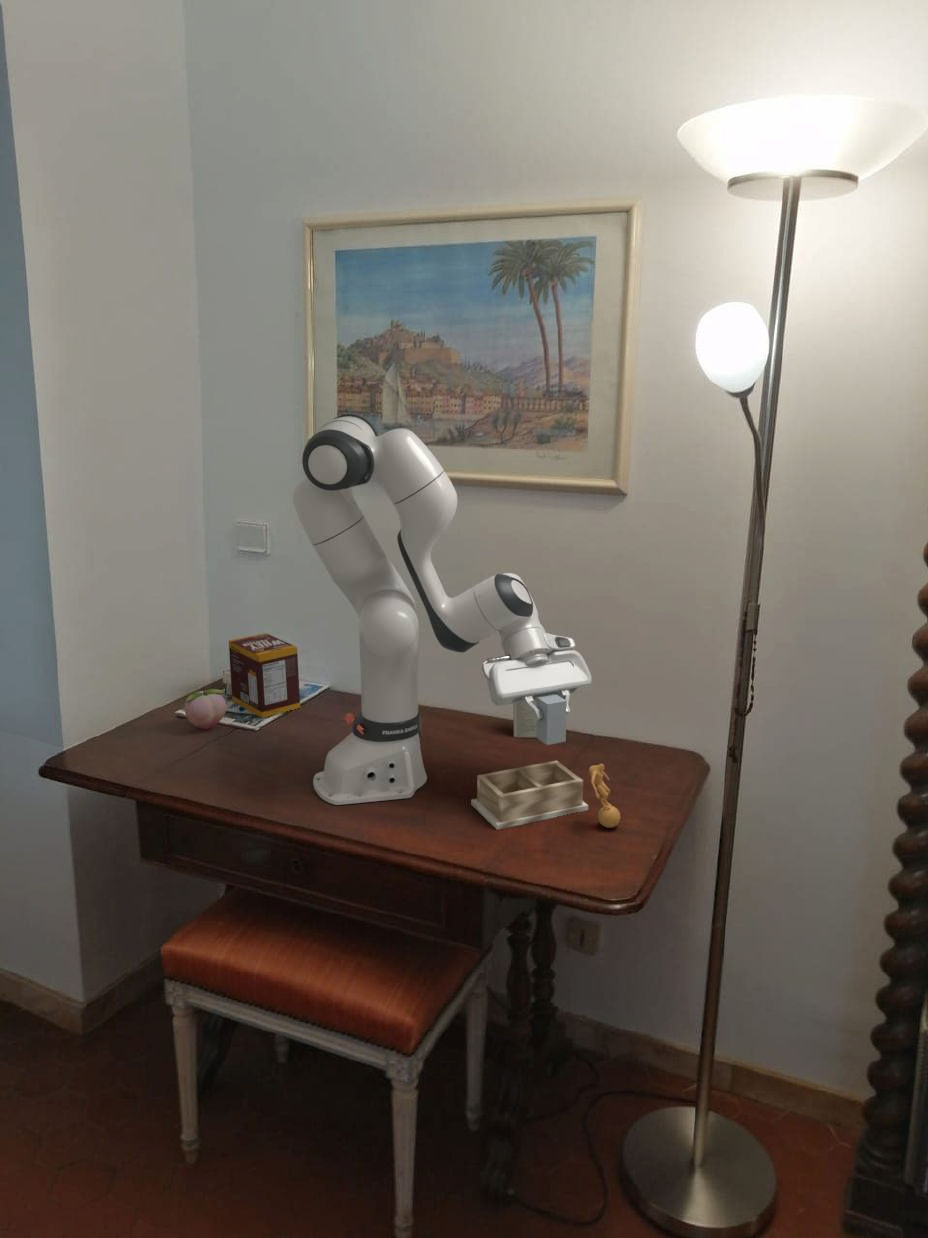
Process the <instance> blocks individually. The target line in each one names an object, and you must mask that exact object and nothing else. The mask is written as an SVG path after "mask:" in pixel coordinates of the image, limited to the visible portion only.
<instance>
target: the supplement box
mask: <svg viewBox="0 0 928 1238" xmlns="http://www.w3.org/2000/svg"><path fill="white" fill-rule="evenodd" d="M228 653H229V669H230V671H229V672H230V685H231V699H232V702H233V703H235V704H237V705H239V706H240V707H241V708H243V709H246V710H247V711H249V712H250V713H253V714H254V715H256V716H258V717H259V718H261V719H266V718H269V717H272V716H271V715H273V716H276V715H275V714H277V715H279V714H278V713H281V714H283V713H282V712H284V713H287V712H286V711H288V712H290V710H292V711H296V710H299V709H301V698H300V696H301V695H300V676H299V657H298V647H297V646H296V645H293V644H291V643H289V642H287V641H284V640H283V639H280V638H279V637H275V636H273V635H271V634H269V633H267V632H265V633H259V634H255V635H249V636H244V637H239V638H235V639H233V638H232V639H229V640H228ZM298 708H299V709H298ZM295 709H296V710H295ZM268 716H269V717H268ZM265 717H266V718H265Z"/></svg>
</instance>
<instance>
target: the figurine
mask: <svg viewBox="0 0 928 1238" xmlns="http://www.w3.org/2000/svg"><path fill="white" fill-rule="evenodd" d="M605 769H606V768H605V765H604V764H603V763H599V764H597V765H591V766H590V767H589V768H588V773H589V775H590V777H591V779H590V783H591V786H592V788H593V790H594V792H595V796H596V799H597V800H600V804H601V805H602V807H601V808H600V809H599V811H598V813H597V819H598V820H597V821H598V822H599V824H601V826H602V827H605V828H608V829H611V828H615V827H616V826H617V825H618V824H619V823H620V821H621V813H620V810H619V809H618V808H617V807H615V806H613V805H612V803H610V802H608V800H607V799H608V798H609V795H610V793H611V790H610V788H609V787H608V786H607V785H606V783H605V782H604V780H603V778H604V777H605V778H606V780H607V781H608V782H609V781H610V778H609V777H608V775H607V774H606V772H605V771H604V770H605ZM601 795H602V797H601Z"/></svg>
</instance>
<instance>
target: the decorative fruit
mask: <svg viewBox="0 0 928 1238" xmlns="http://www.w3.org/2000/svg"><path fill="white" fill-rule="evenodd" d="M221 694H226V692H224V691H223V690H222V689H217V688H210V689H207V690H205V687H202V690H201V691H196V692H194V693H192V694H190V695H188V697H187V698H186V699H185V700H184V713H185V716H186V718H187V720H188V721H189V723H191V725H192V726H194V727H196V728H199V729H203V730H209V729H211V728H213V727H214V726H216V725H217V724H219V722H220V721H221V720H222V719H223V718H224V717H225V714H226V712H227V709H228V708H227V701H226V699H225V697H223V695H221Z"/></svg>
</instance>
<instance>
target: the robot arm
mask: <svg viewBox="0 0 928 1238" xmlns="http://www.w3.org/2000/svg"><path fill="white" fill-rule="evenodd" d="M301 459H302V462H301V463H302V469H303V471H304V474H305V477H304V478H303V479H302V480H301V481H300V482H299V483H298V484H297V485H296V487H295V488H294V490H293V492H292V503H293V506H294V509H295V511H296V515H297V517H298V520H299V522H300V524H301V526H302V528H303V531H304V533H305V534H306V536H307V538H308V540H309V542H310V544H311V546H312V547H313V548H314V551H315V553H316V554H317V556H318V557H319V559H320V561H321V562H322V565H323V566H324V568H325V570H326V571H327V573H328V575H329V576H330V578H331V580H332V581H333V583H335V584H336V586H337V587H338V589H340V590H341V592H342V593H343V595H344V596H345V598H346V600H348V602H349V603H350V605H351V606H352V608H353V609H354V611H355V613H356V615H357V617H358V620H359V622H358V631H359V632H358V633H359V638H358V639H359V659H360V660H359V661H360V662H359V663H360V665H359V666H360V688H361V690H360V691H361V692H360V693H361V695H360V698H361V711H360V713H359V714H358V715H357V716H355V715H354V714H353V713H352V712H348V713H346V714H345V716H344V721H345V723H347V724H348V725H349V726H352V732H351V733H350V734H348V735H347V736H346V737H345V738H344V739H342V740H341V741H340V742H339V743H338V744H336V746H334V747H333V748H331V749H330V750H329V751H328V753H327V755H326V758H325V760H324V768H323V771H320V772H317V773H315V775H314V776H313V778H312V779H313V780H312V786H313V789H314V791H315V792H316V794H317V795H318V797H320V798H321V799H322V800H323V801H325V802H327V803H329V804H332V805H335V806H342V805H350V804H351V805H352V804H361V803H363V804H364V803H371V802H381V801H390V800H392V801H393V800H401V799H410V798H412V797H413V796H414V794H415V793H416V791H417V790H419V788H421V787H422V786H424V785H425V784H426V782H427V780H428V775H427V773H426V769H425V766H424V762H423V757H422V750H421V743H420V739H421V736H422V735H421V734H422V733H421V731H422V720H421V711H420V710H419V676H418V675H419V634H420V633H419V631H420V625H419V617H418V613H417V608H416V602H415V599H414V597H413V596H412V593H411V592H410V590H409V589H408V586H407V585H406V583H405V582H404V580H403V578H402V577H401V576H400V573H399V572H398V571H397V569H396V567H395V566H394V564H393V563H392V561H391V560H390V558H389V556H388V555H387V554H386V552H385V550H384V549H383V546H382V545H381V543H380V542H379V540H378V538H377V536H376V535H375V532H374V531H373V529H372V527H371V525H370V524H369V522H368V520H367V519H366V517H365V515H364V513H363V511H362V510H361V508H360V506H359V505H358V502H357V501H356V499H355V497H354V492H353V487H357V486H361V485H365V484H366V485H367V484H368V483H369V482H370V481H373V482H375V483H376V484H378V485H379V486H380V487H381V488H382V489H383V491H384V493H385V494H386V495H387V497H388V499H389V500H390V502H391V503H392V505H393V506H394V508H395V510H396V512H397V515H398V517H399V522H400V530H399V532H398V533H397V545H398V548H399V552H400V554H401V557H402V559H403V562H404V564H405V567H406V569H407V571H408V573H409V575H410V578H411V580H412V582H413V584H414V586H415V589H416V590H417V592H418V596H419V598H420V599H421V602H422V604H423V607H424V609H425V611H426V613H427V615H428V620H429V622H430V624H431V628H432V631H433V634H434V635H435V638H436V640H437V641H438V643H439V644H440V645H441V646H442V647H443V648H444V649H445V650H448V651H450V652H451V651H452V652H456V653H461V654H463V653H466V652H468V651H469V650H470V649H472V648H473V647H475V646H476V645H477V644H479V643H480V642H482V641H483V640H485V639H487V638H489V637H491V636H493V635H495V634H496V633H498V634H499V635H500V643H501V647H502V650H503V654H504V655H501V656H497V657H489V658H486V660H485V661H483V663H482V666H481V670H482V672H483V676H484V677H485V678H486V680H487V681H486V682H487V687H488V692H489V697H490V699H491V702H492V703H493V704H494V705H495V706H496V707H498V706H499V707H500V706H506V705H511V704H512V705H513V703H519V702H522V705H523V707H524V708H525V709H526V710H527V711H528V712H530V713H531V714H532V716H533V719H534V721H535V722H537V721H542V720H543V719H544V717H545V716H544V714H543V710H542V709H538V708H537V707H536V706H535V705H534V704H533V703H532V702H533V700H536V699H537V697H542V696H548V695H553V694H557V695H558V696H560V697H561V698H563V699H564V700H566V701H567V708H566V717H568V716H570V714H571V710H570V707H569V702H570V696H571V695H570V694H575V693H582V692H585V691H587V690H588V688H589V687H590V686H591V685H592V684H591V683H592V681H593V677H592V674H591V672H590V669H589V667H588V665H587V663H586V661H585V659H584V658H583V656H582V655H581V653H580V652H578V651H577V650H575V648H576V642H575V640H574V639H573V638H571V637H567V636H561V635H556V634H551V633H548V632H546V629H545V627H544V626H543V625H542V624H541V622H540V619H539V610H538V609H537V606H536V604H535V602H534V599H533V597H532V595H531V593H530V591H529V589H528V588H527V586H526V584H525V582H524V581H523V580H522V578H521V576H519V575H518V574H516V573H512V572H505V573H497V574H495V575H492V576H489V577H488V578H486V579H484V580H482V581H481V582H479V583H477V584H475V585H474V586H472V587H471V588H469V589H467V590H465V591H464V592H462V593H460V594H458V595H456V596H454V597H450V596H448V595H447V593H446V591H445V590H444V587H443V585H442V581H440V578H439V576H438V573H437V572H436V568H435V567H434V564H433V562H432V557H431V556H432V549H433V548H434V546H435V544H436V543H437V541H438V540H439V539H440V537H441V536H442V534H443V533H444V532H445V531H446V529H448V527H449V526H450V524H451V522H452V521H453V519H454V517H455V515H456V512H457V508H458V493H457V490H456V488H455V486H454V484H453V483H452V481H451V479H450V477H449V476H448V474H447V473H446V471H445V470H444V468H443V466H442V465H441V463H440V462H439V461H438V459H437V458H436V457H435V455H434V454H433V452H431V450H430V449H429V448H428V447H427V446H426V444H425V443H424V442H423V441H422V440H421V439H420V438H419V436H417V435H416V434H415V433H414V432H413V431H411V430H410V429H408V428H404V427H403V428H394V429H391V430H388V431H386V432H384V433H383V434H381V435H379V434H378V431H377V429H376V427H375V426H374V424H373V423H372V422H371V421H369V419H367V418H366V417H365V416H364V417H363V416H362V415H359V414H353V413H349V414H342V415H338V416H336V417H334V418H333V419H331V420H330V421H328V422H326V423H325V424H323V425H322V426H321V427H320V428H318V430H317V431H316V433H315V434H313V435H312V436H311V437H310V438H309V439H308V440H307V443H305V446H304V449H303V452H302V458H301Z"/></svg>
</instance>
